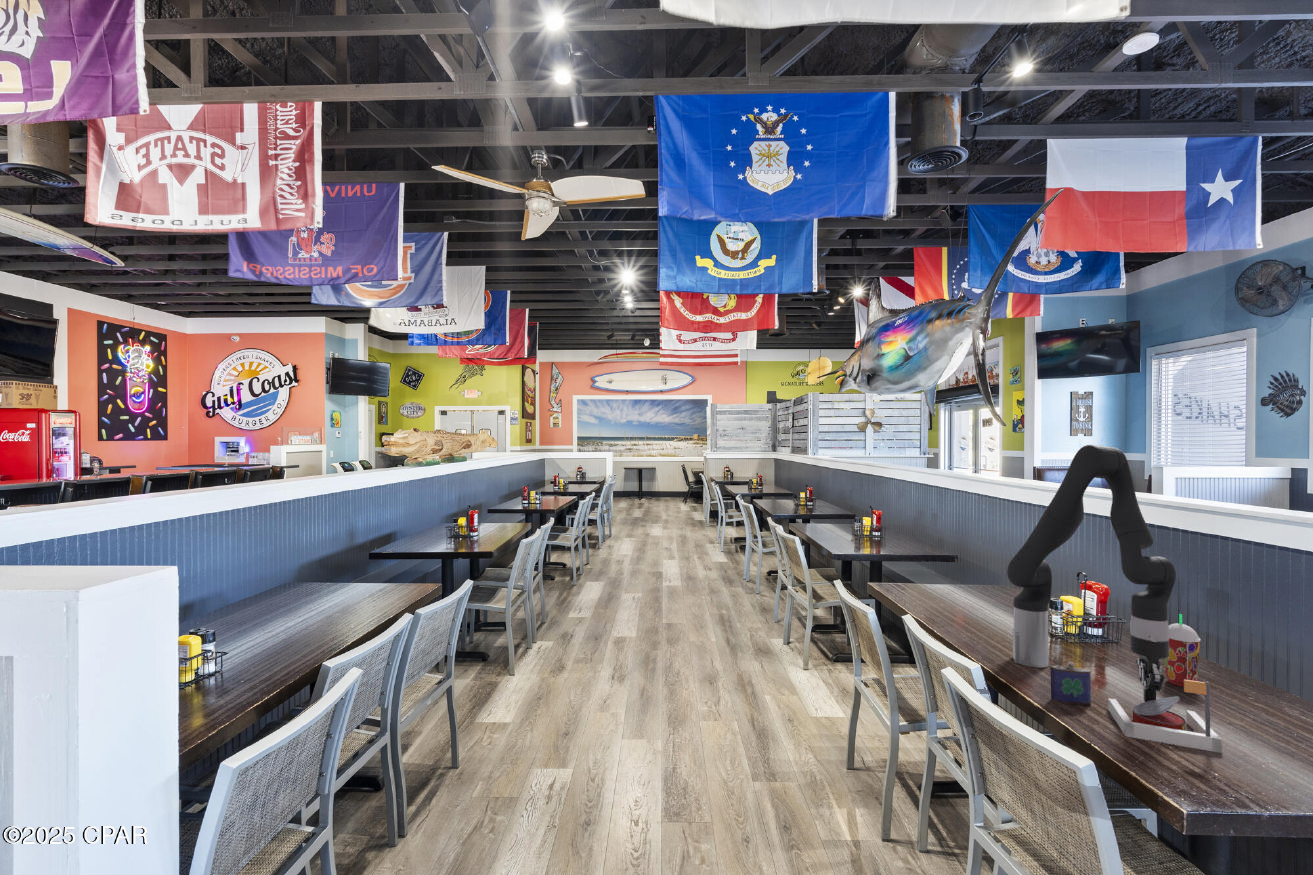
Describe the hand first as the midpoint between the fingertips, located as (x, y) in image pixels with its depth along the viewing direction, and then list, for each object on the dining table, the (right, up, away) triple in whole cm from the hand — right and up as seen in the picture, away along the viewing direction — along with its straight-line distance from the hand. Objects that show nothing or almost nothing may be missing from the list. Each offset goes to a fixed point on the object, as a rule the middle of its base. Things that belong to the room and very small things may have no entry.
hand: (1149, 703), depth 149 cm
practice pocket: (-3, -3, -7) cm, 8 cm away
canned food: (-3, -3, -6) cm, 7 cm away
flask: (-15, -3, +8) cm, 17 cm away
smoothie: (+27, -4, +21) cm, 34 cm away
